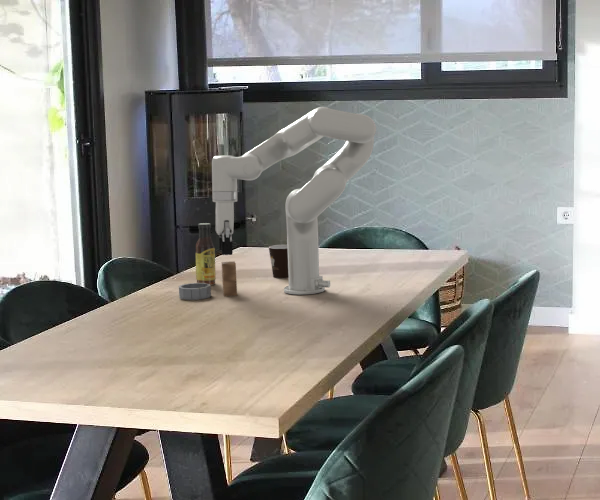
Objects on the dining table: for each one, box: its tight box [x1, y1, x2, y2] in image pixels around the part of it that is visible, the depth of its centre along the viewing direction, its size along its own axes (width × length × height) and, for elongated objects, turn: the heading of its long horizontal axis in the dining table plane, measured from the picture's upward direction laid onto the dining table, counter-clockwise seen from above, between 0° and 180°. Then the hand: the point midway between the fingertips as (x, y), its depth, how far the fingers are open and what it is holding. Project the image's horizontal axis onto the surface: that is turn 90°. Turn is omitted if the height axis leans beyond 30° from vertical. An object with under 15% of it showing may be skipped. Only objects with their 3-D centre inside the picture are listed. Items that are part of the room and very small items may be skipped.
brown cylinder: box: [221, 260, 238, 297], centre depth 342 cm, size 4×4×10 cm
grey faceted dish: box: [178, 282, 212, 301], centre depth 341 cm, size 10×10×3 cm
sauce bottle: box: [195, 222, 216, 286], centre depth 360 cm, size 6×6×20 cm
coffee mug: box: [268, 244, 289, 279], centre depth 372 cm, size 12×9×10 cm
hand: (225, 252), depth 341 cm, fingers open, 9 cm apart
